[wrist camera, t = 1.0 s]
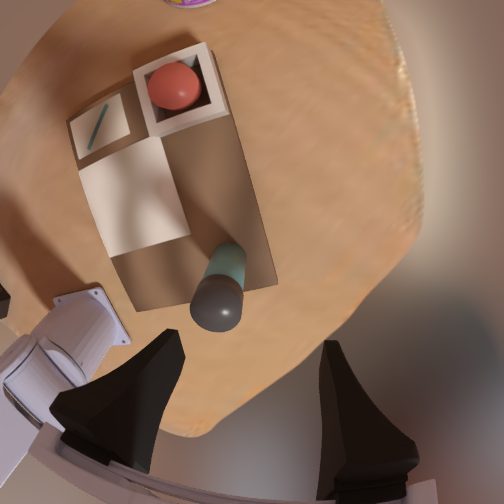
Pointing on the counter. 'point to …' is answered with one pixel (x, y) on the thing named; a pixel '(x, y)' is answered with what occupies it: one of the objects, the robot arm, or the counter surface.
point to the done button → (174, 87)
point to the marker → (221, 290)
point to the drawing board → (167, 197)
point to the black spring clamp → (4, 302)
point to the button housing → (217, 108)
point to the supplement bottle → (189, 3)
